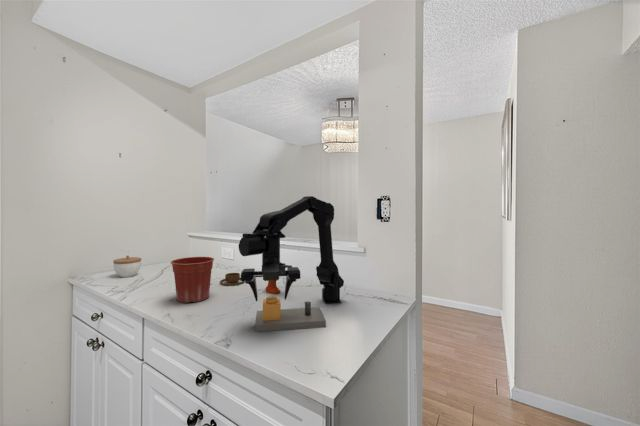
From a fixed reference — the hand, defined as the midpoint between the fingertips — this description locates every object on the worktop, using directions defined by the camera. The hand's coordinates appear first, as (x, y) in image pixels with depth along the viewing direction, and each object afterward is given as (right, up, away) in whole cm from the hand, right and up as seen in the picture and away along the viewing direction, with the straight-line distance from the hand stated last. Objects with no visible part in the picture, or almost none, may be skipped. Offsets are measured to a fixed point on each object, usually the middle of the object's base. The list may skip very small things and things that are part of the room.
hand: (271, 300), depth 91 cm
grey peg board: (+6, -8, +1) cm, 10 cm away
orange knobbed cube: (0, -6, 0) cm, 6 cm away
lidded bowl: (-90, -6, +62) cm, 109 cm away
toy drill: (-2, -7, +30) cm, 31 cm away
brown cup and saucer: (-31, -7, +51) cm, 60 cm away
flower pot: (-37, -7, +24) cm, 45 cm away
